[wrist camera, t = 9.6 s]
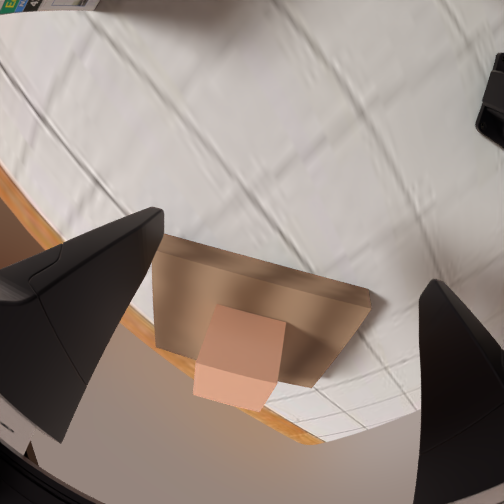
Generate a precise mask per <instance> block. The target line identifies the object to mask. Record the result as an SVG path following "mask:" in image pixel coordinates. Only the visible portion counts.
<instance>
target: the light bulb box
mask: <svg viewBox="0 0 504 504" xmlns="http://www.w3.org/2000/svg"><path fill="white" fill-rule="evenodd" d="M99 1H100V0H0V15H4V14H11V13H20V12H33V11H54V10H77V11H93V10H94V9H95V7H96V6H97V4H98V2H99Z"/></svg>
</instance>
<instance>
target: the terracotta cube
mask: <svg viewBox="0 0 504 504" xmlns="http://www.w3.org/2000/svg"><path fill="white" fill-rule="evenodd" d="M285 327H286V322H283V321H279V320H275V319H271V318H267V317H263V316H260V315H256V314H252V313H248V312H245V311H241V310H237V309H233V308H230V307H226V306H223V305H219V304H217V305H216V308H215V310H214V313H213V316H212V319H211V321H210V324H209V327H208V330H207V332H206V335H205V338H204V341H203V344H202V346H201V349H200V352H199V355H198V358H197V360H196V365H195V377H194V390H193V394H194V395H196V396H199V397H203V398H206V399H210V400H213V401H217V402H221V403H224V404H228V405H232V406H236V407H240V408H244V409H248V410H253V411H257V412H260V410H261V409H262V407H263V406H264V404H265V403H266V401H267V399H268V398H269V396H270V395H271V393H272V391H273V390H274V388H275V386H276V385H277V382H278V375H279V369H280V362H281V355H282V348H283V341H284V334H285Z"/></svg>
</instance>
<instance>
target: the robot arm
mask: <svg viewBox="0 0 504 504" xmlns="http://www.w3.org/2000/svg"><path fill="white" fill-rule="evenodd" d="M502 57H503V58H504V53H497V55H496V59H495V63H494V66H493V70H492V71H491V73H490V77H489V80H488V84H487V87H486V90H485V93H484V96H483V99H482V101H483V103H482V106H481V109H480V112H479V114H478V117H477V120H476V124H475V125H476V129H477V130H478V131H479V132H481V133H482V134H484V135H485V136H487V137H489V138H490V139H492V140H493V141H494V142H496V143H497V144H499V145H500V146H502V147H503V148H504V62H503V61H502ZM482 123H483V124H484V126H483V128H481V124H482ZM163 235H164V211H163V210H162V209H160V208H155V207H149V208H147V209H144V210H141V211H139V212H136V213H134V214H131V215H128V216H126V217H123V218H121V219H118V220H116V221H113V222H111V223H108V224H106V225H103V226H101V227H99V228H96V229H94V230H91V231H89V232H87V233H84V234H82V235H80V236H77V237H75V238H73V239H70V240H68V241H66V242H64V243H63V244H59V245H57V246H55V247H53V248H50V249H48V250H46V251H44V252H41V253H39V254H37V255H34V256H32V257H29V258H27V259H24V260H22V261H20V262H17V263H15V264H12V265H10V266H7V267H5V268H2V269H0V504H105V503H102V502H100V501H98V500H96V499H94V498H92V497H90V496H88V495H86V494H84V493H83V492H81V491H79V490H77V489H75V488H73V487H71V486H70V485H68V484H66V483H65V482H63V481H61V480H60V479H58V478H56V477H55V476H53V475H51V474H50V473H48V472H47V471H45V470H43V469H42V468H41V467H39V465H38V462H37V459H36V456H35V453H34V450H33V447H32V444H31V438H32V436H33V433H34V432H35V430H36V429H38V430H39V431H41V432H43V433H44V434H46V435H47V436H49V437H50V438H52V439H54V440H55V441H57V442H59V443H60V444H61V443H62V441H63V439H64V437H65V434H66V432H67V429H68V427H69V425H70V422H71V420H72V418H73V416H74V413H75V411H76V409H77V407H78V404H79V402H80V400H81V398H82V396H83V393H84V391H85V389H86V387H87V385H88V382H89V380H90V378H91V376H92V374H93V372H94V370H95V368H96V366H97V364H98V362H99V360H100V358H101V356H102V354H103V352H104V350H105V348H106V346H107V344H108V343H109V341H110V338H111V337H112V335H113V333H114V331H115V329H116V327H117V325H118V324H119V322H120V320H121V318H122V316H123V315H124V313H125V311H126V309H127V307H128V306H129V304H130V302H131V300H132V298H133V297H134V295H135V293H136V291H137V290H138V288H139V286H140V284H141V283H142V281H143V279H144V277H145V276H146V274H147V271H148V269H149V267H150V265H151V262H152V260H153V258H154V256H155V254H156V251H157V249H158V247H159V245H160V243H161V241H162V238H163ZM419 350H420V367H421V434H420V450H419V460H418V470H417V479H416V487H415V494H414V501H413V504H504V350H503V349H501V347H500V345H499V344H498V343H497V342H496V340H495V339H494V338H493V337H492V336H491V334H490V333H489V332H488V331H487V330H486V328H485V327H484V326H483V325H482V324H481V322H480V321H479V320H478V319H477V318H476V317H475V316H474V314H473V313H472V312H471V311H470V310H469V309H468V308H467V306H466V305H465V304H464V303H463V302H462V301H461V300H460V299H459V298H458V297H457V296H456V294H455V293H454V292H453V291H452V290H451V289H450V288H449V287H448V286H447V285H446V284H445V283H444V282H443V281H441V280H437V279H432V280H431V281H430V282H429V284H428V285H427V287H426V288H425V290H424V291H423V293H422V294H421V296H420V299H419Z"/></svg>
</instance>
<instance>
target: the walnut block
mask: <svg viewBox="0 0 504 504" xmlns="http://www.w3.org/2000/svg"><path fill="white" fill-rule="evenodd" d="M152 287H153V310H154V327H155V341H156V347H157V348H160V349H163V350H166V351H169V352H172V353H175V354H178V355H182V356H185V357H188V358H191V359H194V360H197V358H198V355H199V352H200V349H201V346H202V344H203V341H204V338H205V335H206V332H207V330H208V327H209V324H210V321H211V319H212V316H213V313H214V310H215V308H216V305H217V304H219V305H223V306H226V307H230V308H233V309H237V310H241V311H245V312H248V313H252V314H256V315H260V316H263V317H267V318H271V319H275V320H279V321H283V322H286V327H285V334H284V341H283V348H282V355H281V362H280V369H279V375H278V381H279V382H284V383H288V384H293V385H298V386H304V387H309V388H312V387H313V386H314V385H315V383H316V382H317V381H318V380H319V379H320V377H321V376H322V375H323V374H324V372H325V371H326V370H327V369H328V367H329V366H330V365H331V364H332V362H333V361H334V360H335V358H336V357H337V356H338V355H339V353H340V352H341V351H342V349H343V348H344V347H345V345H346V344H347V343H348V341H349V340H350V339H351V337H352V336H353V335H354V333H355V332H356V330H357V329H358V328H359V326H360V325H361V323H362V322H363V321H364V319H365V318H366V316H367V315H368V313H369V312H370V310H371V309H372V308H371V302H370V296H369V290H368V289H366V288H362V287H359V286H355V285H351V284H347V283H344V282H340V281H336V280H332V279H329V278H325V277H321V276H318V275H314V274H310V273H306V272H303V271H299V270H295V269H292V268H288V267H284V266H281V265H277V264H273V263H270V262H266V261H262V260H259V259H255V258H251V257H247V256H244V255H240V254H237V253H233V252H229V251H226V250H222V249H218V248H215V247H211V246H207V245H204V244H200V243H196V242H193V241H189V240H186V239H182V238H178V237H175V236H171V235H167V234H164V235H163V238H162V241H161V243H160V245H159V247H158V249H157V251H156V254H155V256H154V258H153V260H152Z"/></svg>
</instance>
